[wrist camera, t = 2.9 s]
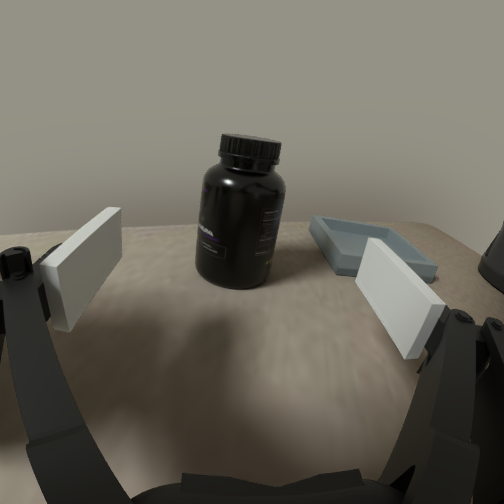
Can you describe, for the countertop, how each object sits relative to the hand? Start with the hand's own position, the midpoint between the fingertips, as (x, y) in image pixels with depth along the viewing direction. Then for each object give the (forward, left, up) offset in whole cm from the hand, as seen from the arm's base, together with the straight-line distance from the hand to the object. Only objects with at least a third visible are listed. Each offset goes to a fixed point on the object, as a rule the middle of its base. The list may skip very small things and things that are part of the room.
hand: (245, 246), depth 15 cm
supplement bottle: (0, -10, -7) cm, 13 cm away
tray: (-17, -18, -7) cm, 26 cm away
